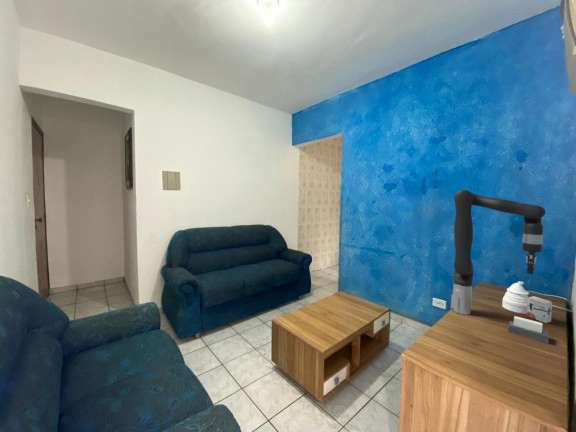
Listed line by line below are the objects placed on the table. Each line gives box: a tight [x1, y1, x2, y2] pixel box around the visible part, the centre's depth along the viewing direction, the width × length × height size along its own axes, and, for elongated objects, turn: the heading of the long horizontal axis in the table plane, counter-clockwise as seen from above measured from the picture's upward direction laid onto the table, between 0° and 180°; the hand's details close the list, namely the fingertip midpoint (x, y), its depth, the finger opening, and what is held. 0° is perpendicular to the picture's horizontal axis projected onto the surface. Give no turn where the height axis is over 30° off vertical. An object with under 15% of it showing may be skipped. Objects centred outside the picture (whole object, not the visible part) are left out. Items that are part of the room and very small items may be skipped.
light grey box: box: [513, 315, 543, 333], centre depth 119 cm, size 10×3×7 cm, turn 43°
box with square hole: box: [507, 320, 550, 344], centre depth 119 cm, size 14×7×4 cm, turn 42°
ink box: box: [526, 295, 553, 324], centre depth 134 cm, size 8×5×12 cm, turn 17°
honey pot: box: [501, 281, 530, 315], centre depth 147 cm, size 13×13×18 cm
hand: (530, 272), depth 125 cm, fingers open, 8 cm apart
